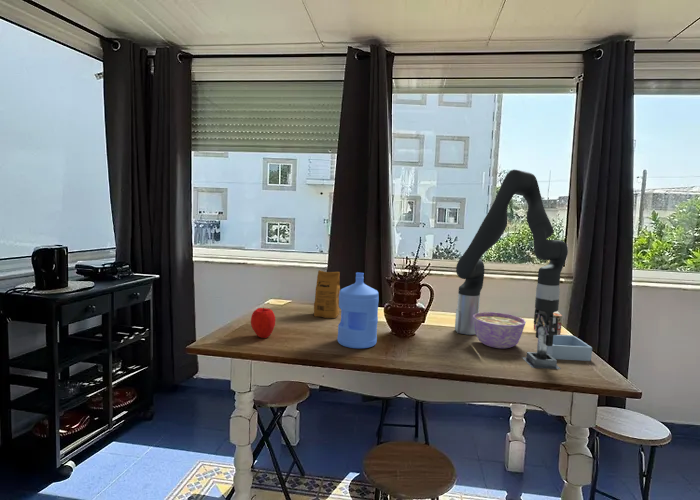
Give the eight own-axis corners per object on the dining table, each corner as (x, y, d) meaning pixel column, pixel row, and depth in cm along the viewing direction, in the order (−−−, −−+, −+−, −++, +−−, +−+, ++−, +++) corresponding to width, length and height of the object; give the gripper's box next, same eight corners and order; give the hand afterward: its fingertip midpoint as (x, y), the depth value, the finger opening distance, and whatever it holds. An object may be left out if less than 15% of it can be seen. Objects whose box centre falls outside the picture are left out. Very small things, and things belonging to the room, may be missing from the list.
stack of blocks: (533, 328, 201) (535, 302, 200) (547, 329, 200) (549, 303, 199) (543, 342, 180) (546, 314, 179) (559, 344, 179) (562, 315, 178)
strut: (537, 364, 151) (540, 327, 150) (532, 360, 156) (535, 324, 154) (549, 365, 151) (553, 328, 150) (544, 361, 156) (548, 324, 154)
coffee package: (317, 311, 216) (318, 268, 213) (341, 314, 213) (343, 270, 210) (310, 316, 206) (312, 271, 204) (335, 319, 203) (337, 273, 201)
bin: (551, 361, 158) (553, 345, 158) (537, 348, 172) (538, 333, 171) (590, 363, 158) (592, 347, 157) (572, 350, 172) (574, 335, 171)
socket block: (531, 370, 149) (532, 360, 148) (521, 359, 159) (522, 350, 158) (561, 371, 148) (562, 362, 148) (549, 361, 158) (549, 352, 158)
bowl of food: (465, 337, 183) (467, 310, 182) (513, 339, 182) (515, 313, 181) (478, 354, 163) (480, 324, 162) (531, 356, 163) (534, 326, 161)
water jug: (356, 334, 182) (359, 268, 179) (384, 343, 171) (388, 274, 168) (329, 341, 171) (331, 271, 168) (357, 352, 160) (360, 278, 157)
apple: (245, 336, 173) (245, 306, 172) (265, 331, 181) (266, 303, 179) (259, 342, 167) (260, 311, 165) (280, 337, 174) (280, 307, 172)
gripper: (528, 292, 158) (525, 335, 160) (544, 300, 144) (541, 347, 145) (549, 293, 158) (546, 336, 159) (567, 301, 144) (563, 348, 145)
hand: (543, 341), depth 152 cm, fingers open, 8 cm apart
